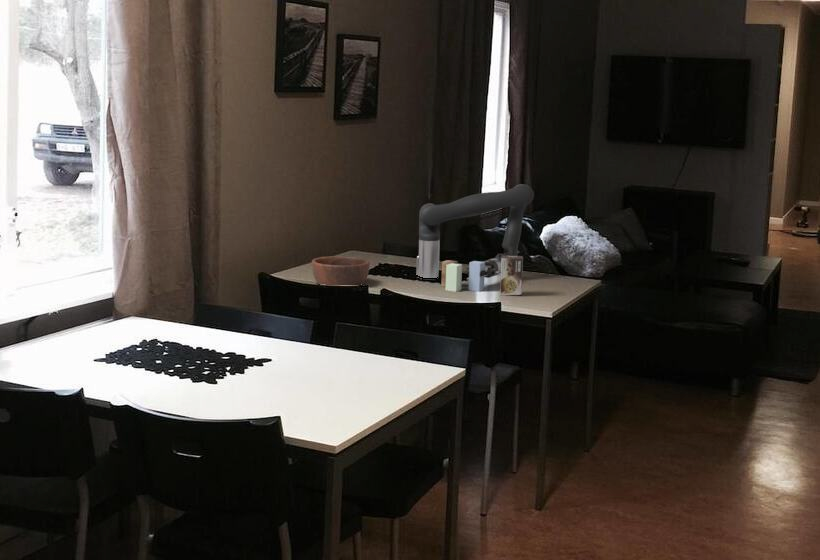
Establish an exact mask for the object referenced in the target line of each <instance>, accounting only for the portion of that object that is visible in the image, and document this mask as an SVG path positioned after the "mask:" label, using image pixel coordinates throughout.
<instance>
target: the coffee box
mask: <svg viewBox="0 0 820 560" xmlns="http://www.w3.org/2000/svg"><path fill="white" fill-rule="evenodd" d="M523 263H524V256H523V255H518V256H510V255H509V256H502V258H501V273H500V292H499V295H500V294H523V266H524V265H523Z"/></svg>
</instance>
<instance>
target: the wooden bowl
mask: <svg viewBox="0 0 820 560" xmlns="http://www.w3.org/2000/svg"><path fill="white" fill-rule="evenodd" d="M370 265H371V262H370V260H369V259H367V258H363V257H357V256H347V255H346V256H344V255H343V256H342V255H336V256H335V255H334V256H333V255H332V256H320V257H317V258H316V257H315V258H313V259H312V260H311V269H312V275H313V278H314V280H315V282H316V283H317V285H319V284H326V285H361V284H363V285H364V284H365V283H366V281H367V279H368V276H369V271H370ZM361 286H362V285H361Z"/></svg>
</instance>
